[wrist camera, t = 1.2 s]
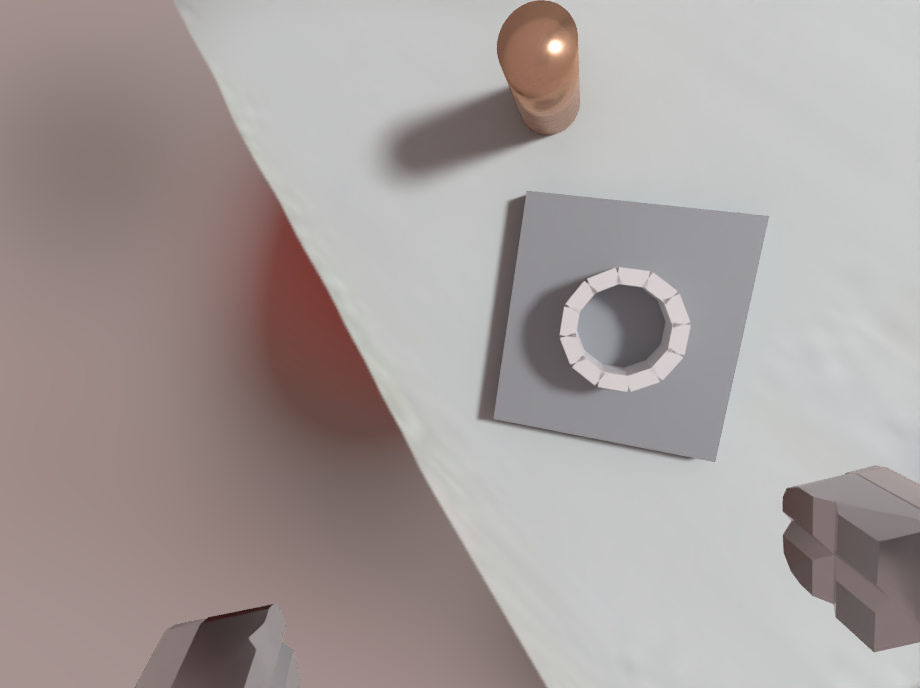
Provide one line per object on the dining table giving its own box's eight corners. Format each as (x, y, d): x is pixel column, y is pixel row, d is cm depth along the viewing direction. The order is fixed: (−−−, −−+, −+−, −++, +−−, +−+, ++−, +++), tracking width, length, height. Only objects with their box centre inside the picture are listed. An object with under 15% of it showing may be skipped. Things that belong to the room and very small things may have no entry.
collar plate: (528, 193, 37) (521, 183, 33) (761, 218, 34) (786, 211, 30) (496, 413, 40) (485, 430, 36) (710, 454, 37) (726, 479, 33)
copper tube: (524, 71, 36) (503, -2, 27) (584, 74, 36) (584, 1, 26) (516, 132, 37) (491, 83, 27) (574, 137, 36) (570, 88, 27)
